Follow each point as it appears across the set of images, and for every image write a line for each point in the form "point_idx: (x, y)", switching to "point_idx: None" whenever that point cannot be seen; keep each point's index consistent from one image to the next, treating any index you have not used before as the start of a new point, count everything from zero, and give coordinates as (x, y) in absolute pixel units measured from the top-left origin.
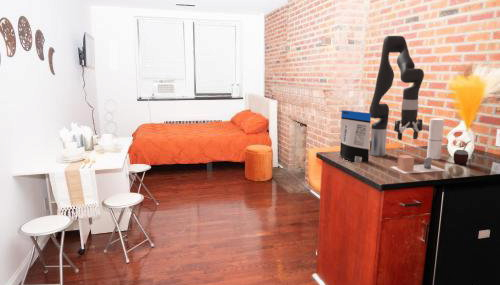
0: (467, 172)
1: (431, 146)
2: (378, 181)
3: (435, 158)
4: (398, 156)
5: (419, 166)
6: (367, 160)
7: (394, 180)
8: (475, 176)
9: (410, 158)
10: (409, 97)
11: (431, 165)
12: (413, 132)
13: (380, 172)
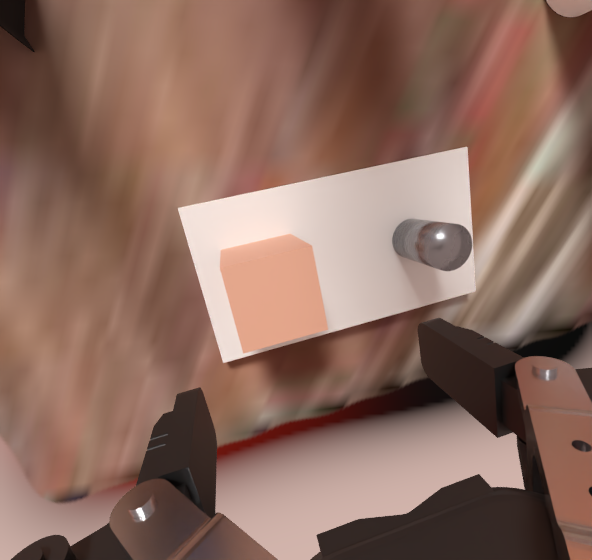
0: (564, 269)
1: None
2: (43, 460)
3: (585, 3)
4: (222, 274)
5: (382, 204)
6: (3, 24)
7: (145, 431)
8: (550, 332)
9: (295, 336)
10: None
11: (462, 181)
12: (482, 364)
13: (97, 282)
